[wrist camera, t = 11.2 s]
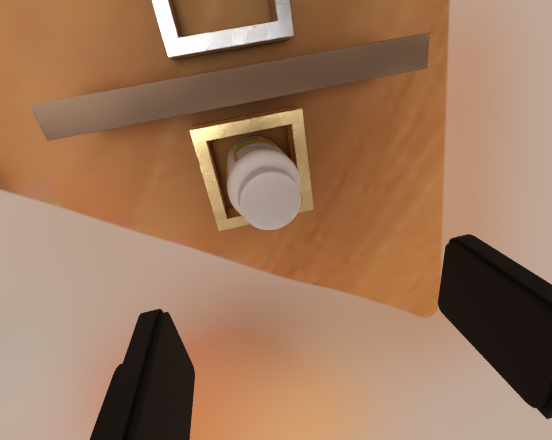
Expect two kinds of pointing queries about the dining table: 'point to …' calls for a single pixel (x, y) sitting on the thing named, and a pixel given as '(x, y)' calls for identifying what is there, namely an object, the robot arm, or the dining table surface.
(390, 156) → the dining table surface
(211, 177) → the double square frame
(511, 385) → the robot arm
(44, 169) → the dining table surface
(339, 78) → the brown wooden plank
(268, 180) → the supplement bottle
